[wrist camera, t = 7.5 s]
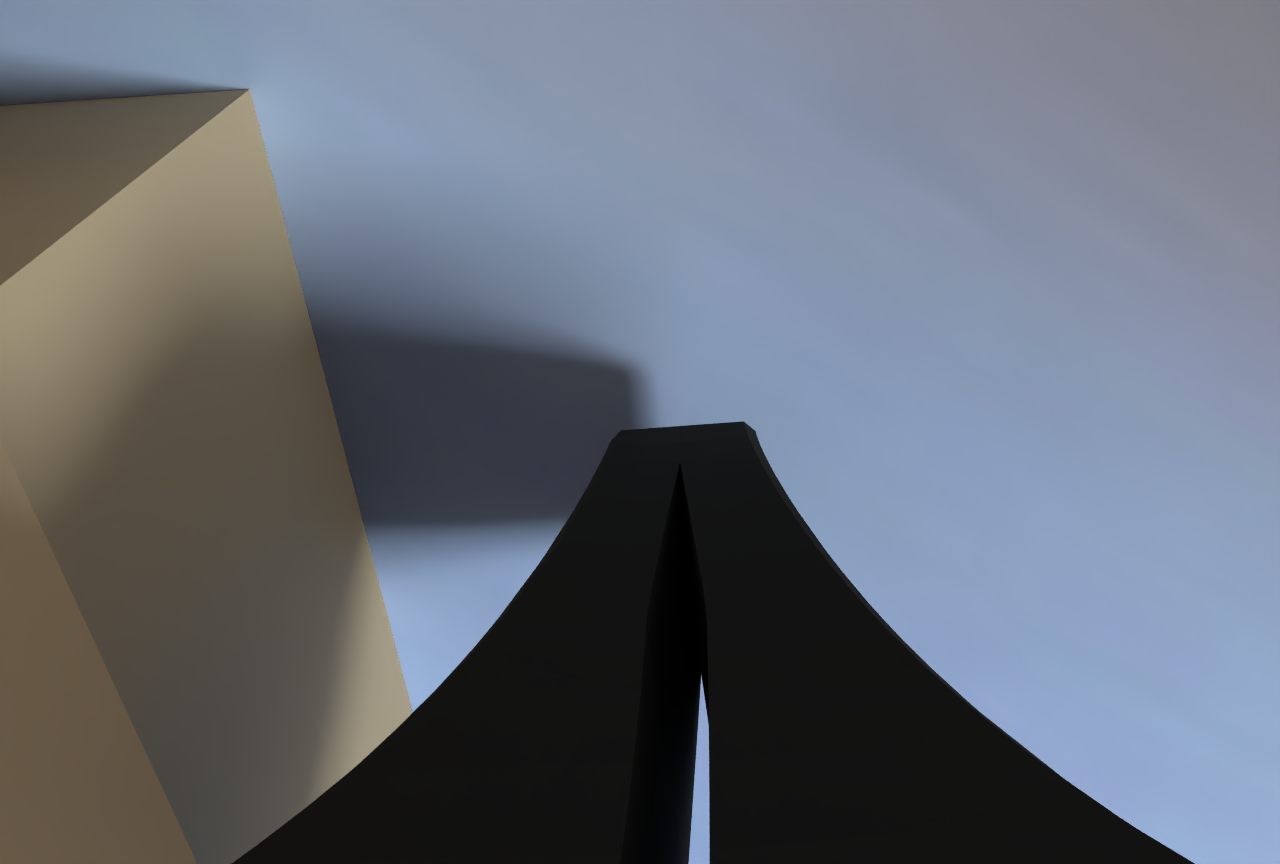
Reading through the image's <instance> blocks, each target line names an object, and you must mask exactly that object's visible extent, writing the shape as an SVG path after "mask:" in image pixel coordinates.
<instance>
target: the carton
mask: <svg viewBox="0 0 1280 864" xmlns="http://www.w3.org/2000/svg"><path fill="white" fill-rule="evenodd" d="M411 711H412V707H411V703H410V699H409V696H408V692H407V688H406V684H405V680H404V677H403V673H402V669H401V665H400V661H399V657H398V654H397V650H396V646H395V642H394V638H393V635H392V631H391V627H390V623H389V619H388V615H387V612H386V608H385V604H384V600H383V596H382V593H381V589H380V585H379V581H378V577H377V573H376V570H375V566H374V562H373V558H372V554H371V551H370V547H369V543H368V539H367V535H366V531H365V528H364V524H363V520H362V516H361V512H360V509H359V505H358V501H357V497H356V493H355V489H354V486H353V482H352V478H351V474H350V470H349V467H348V463H347V459H346V455H345V451H344V447H343V444H342V440H341V436H340V432H339V428H338V425H337V421H336V417H335V413H334V409H333V405H332V402H331V398H330V394H329V390H328V386H327V383H326V379H325V375H324V371H323V367H322V363H321V360H320V356H319V352H318V348H317V344H316V341H315V337H314V333H313V329H312V325H311V321H310V318H309V314H308V310H307V306H306V302H305V299H304V295H303V291H302V287H301V283H300V279H299V276H298V272H297V268H296V264H295V260H294V257H293V253H292V249H291V245H290V241H289V237H288V234H287V230H286V226H285V222H284V218H283V215H282V211H281V207H280V203H279V199H278V195H277V192H276V188H275V184H274V180H273V176H272V173H271V169H270V165H269V161H268V157H267V153H266V150H265V146H264V142H263V138H262V134H261V131H260V127H259V123H258V119H257V115H256V111H255V108H254V104H253V100H252V96H251V92H250V89H245V90H230V91H215V92H200V93H185V94H170V95H155V96H140V97H125V98H110V99H95V100H80V101H65V102H50V103H35V104H20V105H5V106H0V864H231V863H233V862H234V861H236V860H237V859H238V858H240V857H241V856H242V855H244V854H245V853H247V852H248V851H249V850H251V849H252V848H253V847H255V846H256V845H258V844H259V843H260V842H262V841H263V840H264V839H265V838H267V837H268V836H269V835H271V834H272V833H273V832H275V831H276V830H277V829H279V828H280V827H281V826H282V825H284V824H285V823H286V822H288V821H289V820H290V819H292V818H293V817H294V816H295V815H297V814H298V813H299V812H301V811H302V810H303V809H305V808H306V807H307V806H308V805H310V804H311V803H312V802H313V801H314V800H316V799H317V798H318V797H319V796H321V795H322V794H323V793H324V792H325V791H327V790H328V789H329V788H330V787H332V786H333V785H334V784H335V783H336V782H338V781H339V780H340V779H341V778H343V777H344V776H345V775H346V774H347V773H349V772H350V771H351V770H352V769H353V768H354V767H356V766H357V765H358V764H359V763H360V762H361V761H362V760H363V759H364V758H366V757H367V756H368V755H369V754H370V753H371V752H372V751H373V750H374V749H375V748H376V747H377V746H378V745H380V744H381V743H382V742H383V741H384V740H385V739H386V738H387V737H388V736H389V735H390V734H391V733H392V732H394V731H395V730H396V729H397V728H398V727H399V726H400V725H401V724H402V723H403V722H404V721H405V720H406V719H407V718H408V717H409V716H410V715H411Z"/></svg>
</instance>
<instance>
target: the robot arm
mask: <svg viewBox="0 0 1280 864" xmlns="http://www.w3.org/2000/svg"><path fill="white" fill-rule="evenodd" d="M701 675H702V682H703V688H704V695H705V702H706V709H707V716H708V723H709V788H710V864H1194V863H1193V862H1191V861H1189V860H1188V859H1186V858H1184V857H1183V856H1181V855H1179V854H1178V853H1176V852H1174V851H1173V850H1171V849H1169V848H1168V847H1166V846H1165V845H1163V844H1161V843H1160V842H1158V841H1156V840H1155V839H1153V838H1151V837H1150V836H1148V835H1146V834H1145V833H1143V832H1141V831H1140V830H1138V829H1136V828H1135V827H1133V826H1132V825H1130V824H1129V823H1127V822H1126V821H1124V820H1123V819H1121V818H1120V817H1118V816H1117V815H1115V814H1114V813H1112V812H1111V811H1110V810H1108V809H1107V808H1105V807H1104V806H1102V805H1101V804H1099V803H1098V802H1097V801H1095V800H1094V799H1092V798H1091V797H1089V796H1088V795H1087V794H1085V793H1084V792H1082V791H1081V790H1079V789H1078V788H1076V787H1075V786H1074V785H1072V784H1071V783H1069V782H1068V781H1066V780H1065V779H1064V778H1062V777H1061V776H1060V775H1059V774H1057V773H1056V772H1055V771H1054V770H1052V769H1051V768H1050V767H1048V766H1047V765H1046V764H1045V763H1043V762H1042V761H1041V760H1040V759H1038V758H1037V757H1036V756H1035V755H1033V754H1032V753H1031V752H1030V751H1028V750H1027V749H1026V748H1024V747H1023V746H1022V745H1021V744H1019V743H1018V742H1017V741H1016V740H1014V739H1013V738H1012V737H1011V736H1009V735H1008V734H1007V733H1006V732H1004V731H1003V730H1002V729H1001V728H999V727H998V726H997V725H995V724H994V723H993V722H992V721H990V720H989V719H988V718H987V717H985V716H984V715H983V714H982V713H980V712H979V711H978V710H977V709H976V708H974V707H973V706H972V705H971V704H970V703H969V702H968V701H967V700H966V699H964V698H963V697H962V696H961V695H960V694H959V693H958V692H957V691H956V690H955V689H953V688H952V687H951V686H950V685H949V684H948V683H947V682H946V681H945V680H944V679H942V678H941V677H940V676H939V675H938V674H937V673H936V672H935V671H934V670H933V669H932V668H931V667H930V666H928V665H927V664H926V663H925V662H924V661H923V660H922V659H921V658H920V657H919V656H918V655H917V654H916V653H915V652H914V651H913V650H912V649H911V648H910V647H909V646H908V645H907V644H906V643H905V642H904V641H903V640H902V639H901V638H900V637H899V636H898V635H897V634H896V632H895V631H894V630H893V629H892V628H891V627H890V626H889V625H888V624H887V623H886V622H885V621H884V620H883V619H882V617H881V616H880V615H879V614H878V613H877V612H876V611H875V610H874V609H873V607H872V606H871V605H870V604H869V603H868V602H867V601H866V599H865V598H864V597H863V596H862V595H861V594H860V592H859V591H858V590H857V589H856V588H855V586H854V585H853V584H852V583H851V582H850V580H849V579H848V578H847V577H846V576H845V574H844V573H843V572H842V571H841V570H840V568H839V567H838V566H837V564H836V563H835V562H834V561H833V559H832V558H831V557H830V555H829V554H828V553H827V552H826V550H825V549H824V548H823V546H822V545H821V543H820V542H819V541H818V539H817V538H816V536H815V535H814V533H813V532H812V531H811V529H810V528H809V526H808V525H807V524H806V522H805V521H804V519H803V518H802V517H801V515H800V514H799V512H798V511H797V509H796V508H795V506H794V505H793V503H792V502H791V500H790V499H789V497H788V496H787V494H786V492H785V491H784V489H783V487H782V485H781V484H780V482H779V480H778V479H777V477H776V475H775V474H774V472H773V470H772V468H771V466H770V464H769V463H768V461H767V459H766V457H765V455H764V453H763V450H762V448H761V446H760V443H759V441H758V438H757V435H756V432H755V430H753V429H752V428H751V427H750V426H749V425H747V424H746V423H745V422H730V423H716V424H703V425H689V426H675V427H662V428H648V429H634V430H621V431H620V432H619V433H618V434H617V435H616V436H615V437H614V438H613V439H612V441H611V442H610V444H609V447H608V449H607V451H606V453H605V455H604V457H603V459H602V461H601V463H600V465H599V467H598V469H597V471H596V473H595V474H594V476H593V478H592V480H591V482H590V484H589V485H588V487H587V489H586V490H585V492H584V494H583V496H582V497H581V499H580V501H579V503H578V504H577V506H576V508H575V509H574V511H573V513H572V514H571V516H570V517H569V519H568V520H567V522H566V523H565V525H564V527H563V528H562V530H561V531H560V533H559V534H558V536H557V537H556V539H555V541H554V542H553V544H552V545H551V547H550V548H549V550H548V551H547V553H546V554H545V556H544V557H543V559H542V560H541V562H540V563H539V565H538V566H537V567H536V569H535V570H534V571H533V573H532V574H531V575H530V577H529V578H528V579H527V581H526V582H525V583H524V585H523V586H522V587H521V589H520V590H519V591H518V593H517V594H516V595H515V597H514V598H513V600H512V601H511V602H510V604H509V605H508V606H507V608H506V609H505V610H504V612H503V613H502V614H501V616H500V617H499V618H498V619H497V621H496V622H495V623H494V624H493V626H492V627H491V628H490V629H489V630H488V632H487V633H486V634H485V635H484V636H483V638H482V639H481V640H480V641H479V642H478V644H477V645H476V646H475V647H474V648H473V649H472V651H471V652H470V653H469V654H468V655H467V656H466V657H465V659H464V660H463V661H462V662H461V663H460V664H459V665H458V666H457V667H456V668H455V670H454V671H453V672H452V673H451V674H450V675H449V676H448V677H447V678H446V679H445V680H444V682H443V683H442V684H441V685H440V686H439V687H438V688H437V689H436V690H435V691H434V692H433V693H432V694H431V695H430V696H429V697H428V698H427V699H426V700H425V701H424V702H423V703H422V704H421V705H420V706H419V707H418V708H417V709H416V710H415V711H414V712H413V713H412V714H411V715H410V716H409V717H408V718H407V719H406V720H405V721H404V722H403V723H402V724H401V725H400V726H399V727H398V728H397V729H396V730H395V731H394V732H392V733H391V734H390V735H389V736H388V737H387V738H386V739H385V740H384V741H383V742H382V743H381V744H380V745H378V746H377V747H376V748H375V749H374V750H373V751H372V752H371V753H370V754H369V755H368V756H367V757H366V758H364V759H363V760H362V761H361V762H360V763H359V764H358V765H357V766H356V767H354V768H353V769H352V770H351V771H350V772H349V773H347V774H346V775H345V776H344V777H343V778H341V779H340V780H339V781H338V782H336V783H335V784H334V785H333V786H332V787H330V788H329V789H328V790H327V791H325V792H324V793H323V794H322V795H321V796H319V797H318V798H317V799H316V800H314V801H313V802H312V803H311V804H310V805H308V806H307V807H306V808H305V809H303V810H302V811H301V812H299V813H298V814H297V815H295V816H294V817H293V818H292V819H290V820H289V821H288V822H286V823H285V824H284V825H282V826H281V827H280V828H279V829H277V830H276V831H275V832H273V833H272V834H271V835H269V836H268V837H267V838H265V839H264V840H263V841H262V842H260V843H259V844H258V845H256V846H255V847H253V848H252V849H251V850H249V851H248V852H247V853H245V854H244V855H242V856H241V857H240V858H238V859H237V860H236V861H234V862H233V863H231V864H688V862H689V847H690V832H691V818H692V803H693V789H694V774H695V760H696V745H697V730H698V715H699V700H700V684H701Z"/></svg>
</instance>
